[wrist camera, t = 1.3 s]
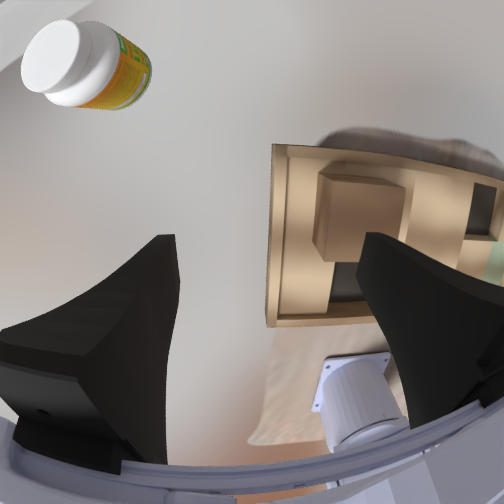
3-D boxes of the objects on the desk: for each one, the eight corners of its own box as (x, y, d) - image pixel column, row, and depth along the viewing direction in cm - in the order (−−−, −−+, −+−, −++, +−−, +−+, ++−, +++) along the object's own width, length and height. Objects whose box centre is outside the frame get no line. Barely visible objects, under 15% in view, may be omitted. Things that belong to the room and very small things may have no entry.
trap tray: (486, 294, 26) (498, 305, 24) (264, 309, 25) (266, 327, 23) (515, 184, 21) (530, 190, 18) (271, 143, 20) (275, 145, 17)
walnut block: (373, 242, 21) (393, 261, 18) (312, 241, 21) (324, 261, 18) (382, 178, 19) (406, 188, 16) (317, 172, 19) (333, 181, 16)
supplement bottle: (167, 66, 17) (115, 25, 8) (124, 123, 19) (49, 124, 10) (119, 37, 16) (53, -4, 7) (80, 91, 17) (-1, 82, 8)
